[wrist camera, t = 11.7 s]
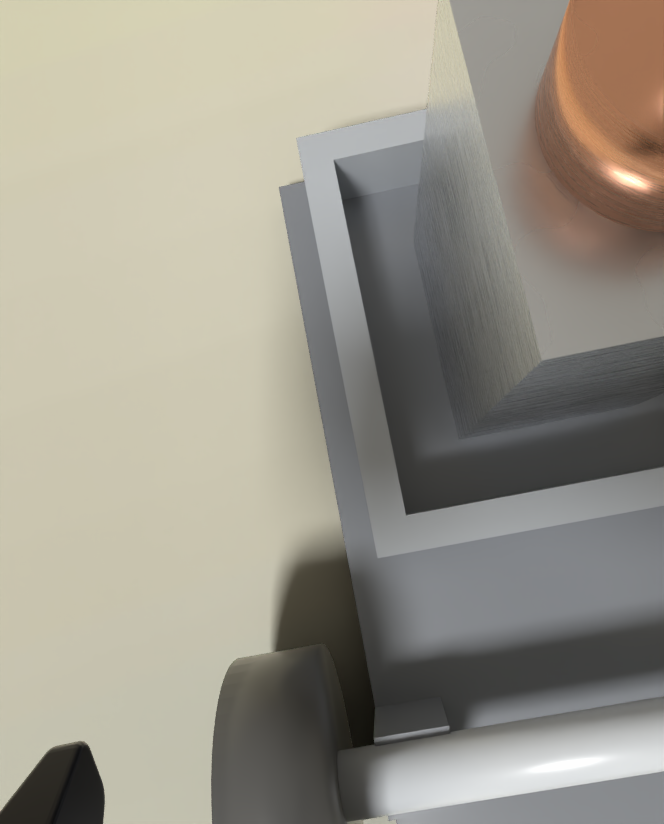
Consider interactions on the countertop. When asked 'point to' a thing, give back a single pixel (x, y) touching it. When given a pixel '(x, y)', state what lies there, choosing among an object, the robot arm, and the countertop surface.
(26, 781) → the robot arm
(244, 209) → the countertop surface
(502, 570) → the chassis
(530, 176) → the block
